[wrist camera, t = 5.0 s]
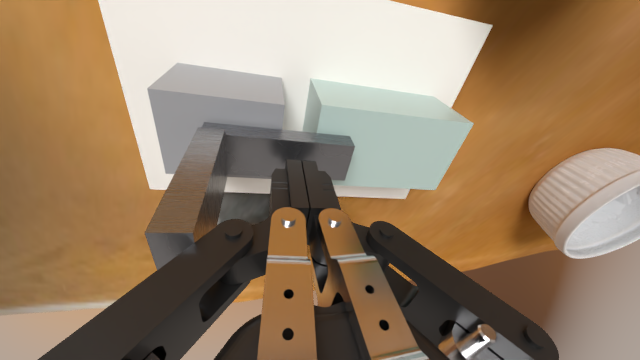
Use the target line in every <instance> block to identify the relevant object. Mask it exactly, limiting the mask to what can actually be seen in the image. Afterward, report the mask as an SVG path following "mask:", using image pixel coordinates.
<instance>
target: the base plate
mask: <svg viewBox="0 0 640 360" xmlns="http://www.w3.org/2000/svg"><path fill="white" fill-rule="evenodd" d="M98 2H99V5H100V9H101V13H102V16H103V20H104V24H105V27H106V31H107V35H108V38H109V42H110V45H111V49H112V53H113V56H114V60H115V64H116V67H117V71H118V75H119V78H120V82H121V85H122V89H123V93H124V96H125V100H126V104H127V107H128V111H129V115H130V118H131V122H132V126H133V129H134V133H135V136H136V140H137V144H138V147H139V151H140V155H141V158H142V162H143V166H144V169H145V173H146V177H147V180H148V184H149V187H150V189H157V190H167V188H168V186H169V184H170V182H171V180H172V178H173V176H174V174H175V172H176V170H177V168H178V166H179V164H180V162H181V160H182V158H183V156H184V154H185V152H186V150H187V148H188V146H189V144H190V142H191V140H192V138H193V136H194V134H195V132H196V130H197V128H198V127H202V125H203V123H204V122H209V123H220V124H230V125H240V126H251V127H261V128H271V129H282V130H292V131H302V130H303V124H304V117H305V111H306V104H307V98H308V91H309V85H310V78H312V79H319V80H326V81H333V82H339V83H346V84H353V85H360V86H366V87H373V88H380V89H387V90H393V91H400V92H407V93H414V94H421V95H427V96H434V97H435V98H437V99H438V100H440V101H441V102H443V103H444V104H446V105H447V106H449V107H450V108H451V107H452V105H453V103H454V101H455V99H456V97H457V95H458V93H459V91H460V89H461V87H462V85H463V83H464V81H465V80H466V78H467V76H468V74H469V72H470V70H471V68H472V66H473V64H474V62H475V60H476V58H477V56H478V54H479V52H480V50H481V48H482V46H483V44H484V42H485V40H486V38H487V36H488V34H489V32H490V30H491V28H492V26H493V25H490V24H485V23H481V22H477V21H473V20H469V19H464V18H460V17H456V16H452V15H448V14H444V13H439V12H435V11H431V10H427V9H423V8H418V7H414V6H410V5H406V4H402V3H398V2H393V1H389V0H98ZM333 186H334V189H335V192H336V196H343V197H369V198H396V199H405V198H406V196H407V194H408V192H409V191H410V189H403V188H383V187H362V186H341V185H333ZM270 188H271V177H267V176H248V175H230V174H227V181H226V186H225V190H224V192H237V193H263V194H270Z"/></svg>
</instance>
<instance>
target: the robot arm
mask: <svg viewBox="0 0 640 360" xmlns="http://www.w3.org/2000/svg"><path fill="white" fill-rule="evenodd" d="M307 245H310V254H309V259H308V256H307ZM389 263H391V264H392V265H394V266H395V267H396V268H397V269H399V270H400V271H401V272H403V273H404V274H405V275H406V276H408V277H409V278H410V279H412V280H413V281H414V282H415V283H416V284H417V286H414V285H412V284H411V283H410V282H408V281H407V280H406V279H404V278H403V277H402V276H401V275H399V274H398V273H397V272H396V271H394V270H393V269H392V268H390V267H389V266H388V265H389ZM263 275H265V285H264V295H263V306H262V314H261V315H258V316H256V317H255V318H253V319H251V320H249V321H248V322H246V323H245V324H244V325H243V326H242V327H240V328H239V329H238V330H237V331H236V332H235V333H234V334H233V335H232V336H231V338H230V339H229V340H228V341H227V343H226V344H225V345H224V347H223V348H222V349H221V351H220V352H219V353H218V354H217V356H216V357H215V358H214V360H559V354H558V350H557V348H556V346H555V344H554V342H553V341H552V339H551V338H550V337H549V335H548V334H547V333H546V332H545V331H544V330H543V329H542V328H540V326H538V325H537V324H536V323H534V322H533V321H531V320H530V319H528V318H527V317H525V316H524V315H522V314H521V313H519V312H518V311H517V310H515V309H514V308H512V307H511V306H509V305H508V304H506V303H505V302H504V301H502V300H501V299H499V298H498V297H496V296H495V295H493V294H492V293H490V292H489V291H487V290H486V289H485V288H483V287H482V286H480V285H479V284H477V283H476V282H474V281H473V280H472V279H470V278H469V277H467V276H466V275H464V274H463V273H462V272H460V271H459V270H457V269H456V268H454V267H453V266H451V265H450V264H449V263H447V262H446V261H444V260H443V259H441V258H440V257H438V256H437V255H435V254H434V253H433V252H431V251H430V250H428V249H427V248H425V247H424V246H422V245H421V244H420V243H418V242H417V241H415V240H414V239H412V238H411V237H409V236H408V235H406V234H405V233H404V232H402V231H401V230H399V229H398V228H396V227H395V226H393V225H392V224H390V223H387V222H384V221H377V222H374V223H372V224H371V226H370V228H369V227H365V226H362V225H358V224H355V223H353V222H351V220H350V218H349V217H348V215H347V214H346V213H344V212H343V211H341V208H340V205H339V202H338V199H337V196H336V192H335V189H334V186H333V183H332V180H331V177H330V176H329V175H328V174H327V173H326V172H325V171H318V167H317V164H316V161H307V160H291V159H286V164H285V169H278V168H276V169H275V170H274V172H273V173H272V176H271V188H270V217H269V218H268V219H267V220H265V221H264V222H261V223H259V224H255V225H250V224H249V223H248V222H246V221H244V220H240V219H231V220H227V221H224V222H222V223H220V224H219V225H218V226H216V227H215V228H214V229H212V230H211V231H209V232H208V233H207V234H205V235H204V236H203V237H201V238H200V239H199V240H197V241H196V242H195V243H193V244H192V245H191V246H189V247H188V248H187V249H185V250H184V251H183V252H181V253H180V254H179V255H177V256H176V257H175V258H173V259H172V260H171V261H169V262H168V263H167V264H165V265H164V266H163V267H161V268H160V269H159V270H157V271H156V272H155V273H153V274H152V275H150V276H149V277H148V278H146V279H145V280H144V281H142V282H141V283H140V284H138V285H137V286H136V287H134V288H133V289H132V290H130V291H129V292H128V293H126V294H125V295H124V296H122V297H121V298H120V299H118V300H117V301H116V302H114V303H113V304H112V305H110V306H109V307H108V308H106V309H105V310H104V311H102V312H101V313H100V314H98V315H97V316H96V317H94V318H93V319H92V320H90V321H89V322H88V323H86V324H85V325H83V326H82V327H81V328H79V329H78V330H77V331H75V332H74V333H73V334H71V335H70V336H69V337H67V338H66V339H65V340H63V341H62V342H61V343H59V344H58V345H57V346H55V347H54V348H53V349H51V350H50V351H49V352H47V353H46V354H45V355H43V356H42V357H41V358H39V359H38V360H180V359H181V358H182V357H183V356H184V354H186V352H187V351H188V350H189V349H190V348H191V347H192V346H193V345H194V344H195V343H196V341H197V340H198V339H199V338H200V337H201V336H202V335H203V334H204V333H205V332H206V330H207V329H208V328H209V327H210V326H211V325H212V324H213V323H214V322H215V321H216V319H217V318H218V317H219V316H220V315H221V314H222V313H223V311H224V310H226V308H227V307H228V306H229V305H230V304H231V303H232V302H233V301H234V300H235V299H236V297H237V296H238V295H239V294H240V293H241V292H242V291H243V290H244V289H245V288H246V286H247V285H248V284H249V283H250V281H251V280H252V279H255V278H257V277H260V276H263ZM312 277H313V281H314V285H315V290H316V294H317V300H318V306H315V305H314V303H313V286H312Z"/></svg>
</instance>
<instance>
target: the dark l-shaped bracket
mask: <svg viewBox="0 0 640 360" xmlns="http://www.w3.org/2000/svg"><path fill="white" fill-rule="evenodd" d="M354 149H355V145H354V143H353V141H352V139H351V137H350V136H343V135H333V134H323V133H312V132H302V131H292V130H282V129H271V128H261V127H251V126H240V125H230V124H220V123H209V122H204V123H203V125H202V127H198V128H197V130H196V132H195V134H194V136H193V138H192V140H191V142H190V144H189V146H188V148H187V150H186V152H185V154H184V156H183V158H182V160H181V162H180V164H179V166H178V168H177V170H176V172H175V174H174V176H173V178H172V180H171V182H170V184H169V186H168V188H167V190H166V192H165V194H164V196H163V198H162V200H161V202H160V204H159V206H158V208H157V210H156V211H155V213H154V215H153V217H152V219H151V221H150V223H149V225H148V227H147V229H146V231H145V235H146V238H147V241H148V244H149V247H150V250H151V253H152V256H153V259H154V262H155V265H156V268H157V270H159V269H160V268H161V267H163V266H164V265H165V264H167V263H168V262H169V261H171V260H172V259H173V258H175V257H176V256H177V255H179V254H180V253H181V252H183V251H184V250H185V249H187V248H188V247H189V246H191V245H192V244H193V243H195V242H196V241H197V240H199V239H200V238H201V237H203V236H204V235H205V234H207V233H208V232H209V231H211V230H212V229H214V228H215V227H216V226H217V222H218V217H219V213H220V208H221V204H222V199H223V195H224V190H225V186H226V181H227V174H230V175H248V176H267V177H271V176H272V173H273V172H274V170H275V169H276V168H278V169H285V164H286V159H291V160H307V161H316V164H317V167H318V171H325V172H326V173H327V174H328V175H329V176H330V177H331V180H342V181H345V178H346V175H347V172H348V169H349V165H350V162H351V159H352V155H353V152H354Z"/></svg>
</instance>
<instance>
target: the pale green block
mask: <svg viewBox="0 0 640 360" xmlns="http://www.w3.org/2000/svg"><path fill="white" fill-rule="evenodd" d="M472 126H473V123H472V122H470V121H469V120H468V119H466V118H465V117H463V116H462V115H460V114H459V113H457V112H456V111H454V110H453V109H451V108H450V107H449V106H447V105H446V104H444V103H443V102H441V101H440V100H438V99H437V98H435V97H434V96H427V95H421V94H414V93H407V92H400V91H393V90H387V89H380V88H373V87H366V86H360V85H353V84H346V83H339V82H333V81H326V80H319V79H312V78H310V85H309V91H308V98H307V104H306V111H305V117H304V124H303V130H302V132H312V133H323V134H333V135H343V136H350V137H351V139H352V141H353V143H354V145H355V149H354V152H353V155H352V159H351V162H350V165H349V169H348V172H347V175H346V178H345V181H342V180H332V183H333V185H341V186H362V187H383V188H403V189H424V190H436V188H437V186H438V184H439V183H440V181H441V179H442V178H443V176H444V174H445V172H446V171H447V169H448V167H449V165H450V164H451V162H452V160H453V159H454V157H455V155H456V153H457V152H458V150H459V148H460V147H461V145H462V143H463V141H464V140H465V138H466V136H467V135H468V133H469V131H470V129H471V128H472Z"/></svg>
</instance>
